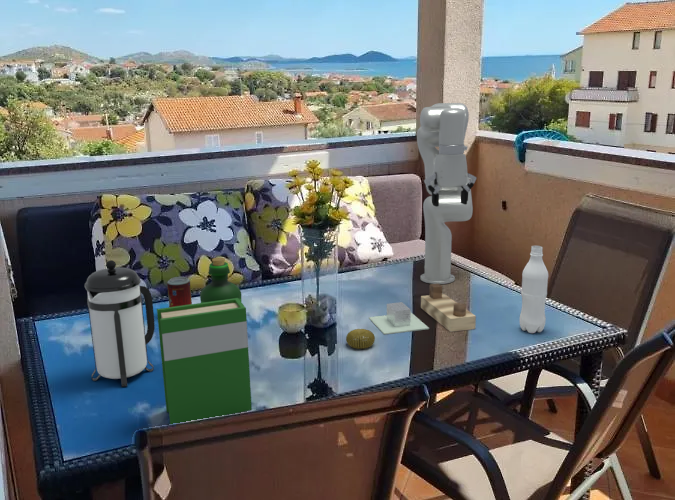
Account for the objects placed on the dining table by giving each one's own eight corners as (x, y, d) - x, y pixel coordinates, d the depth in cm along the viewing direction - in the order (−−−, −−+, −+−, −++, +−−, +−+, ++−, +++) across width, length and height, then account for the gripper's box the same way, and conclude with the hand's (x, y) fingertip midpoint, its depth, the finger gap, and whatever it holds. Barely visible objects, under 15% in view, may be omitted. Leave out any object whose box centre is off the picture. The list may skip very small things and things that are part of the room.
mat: (368, 318, 193) (368, 317, 193) (411, 313, 197) (411, 312, 197) (384, 334, 180) (384, 333, 180) (428, 329, 184) (428, 327, 184)
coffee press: (158, 382, 153) (147, 265, 145) (89, 392, 148) (73, 271, 141) (157, 355, 169) (147, 248, 161) (94, 363, 164) (81, 253, 157)
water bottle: (547, 334, 178) (553, 249, 172) (522, 334, 178) (527, 250, 172) (540, 325, 185) (545, 243, 179) (516, 325, 185) (520, 244, 179)
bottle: (226, 374, 157) (219, 266, 150) (195, 365, 162) (187, 261, 155) (254, 358, 166) (248, 256, 159) (223, 350, 171) (217, 252, 164)
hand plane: (420, 307, 202) (421, 284, 200) (443, 305, 204) (444, 281, 202) (450, 331, 181) (451, 305, 179) (475, 328, 183) (476, 303, 181)
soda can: (168, 313, 201) (165, 277, 198) (190, 310, 203) (188, 274, 200) (171, 321, 194) (168, 283, 191) (194, 317, 197) (191, 280, 194)
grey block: (386, 319, 191) (386, 303, 190) (401, 317, 192) (402, 302, 191) (394, 327, 185) (394, 311, 183) (410, 325, 186) (410, 309, 185)
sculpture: (341, 329, 175) (368, 325, 177) (342, 342, 176) (368, 338, 178) (352, 339, 167) (379, 334, 170) (352, 353, 168) (379, 348, 171)
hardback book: (170, 426, 133) (160, 320, 127) (166, 410, 139) (156, 309, 133) (251, 409, 139) (245, 307, 133) (243, 395, 145) (238, 297, 140)
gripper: (471, 148, 198) (469, 201, 203) (420, 150, 194) (419, 204, 199) (482, 150, 191) (480, 205, 196) (430, 152, 187) (429, 208, 192)
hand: (449, 204), depth 197 cm, fingers open, 9 cm apart
